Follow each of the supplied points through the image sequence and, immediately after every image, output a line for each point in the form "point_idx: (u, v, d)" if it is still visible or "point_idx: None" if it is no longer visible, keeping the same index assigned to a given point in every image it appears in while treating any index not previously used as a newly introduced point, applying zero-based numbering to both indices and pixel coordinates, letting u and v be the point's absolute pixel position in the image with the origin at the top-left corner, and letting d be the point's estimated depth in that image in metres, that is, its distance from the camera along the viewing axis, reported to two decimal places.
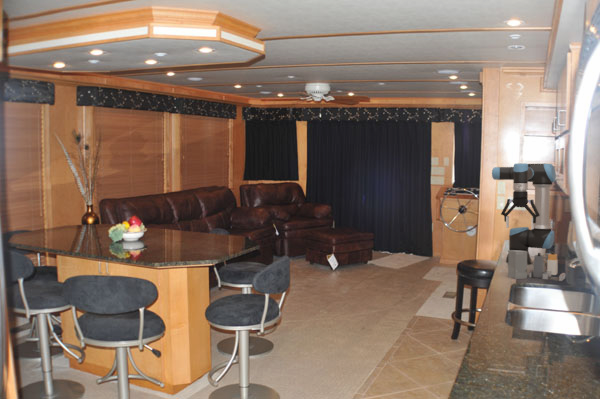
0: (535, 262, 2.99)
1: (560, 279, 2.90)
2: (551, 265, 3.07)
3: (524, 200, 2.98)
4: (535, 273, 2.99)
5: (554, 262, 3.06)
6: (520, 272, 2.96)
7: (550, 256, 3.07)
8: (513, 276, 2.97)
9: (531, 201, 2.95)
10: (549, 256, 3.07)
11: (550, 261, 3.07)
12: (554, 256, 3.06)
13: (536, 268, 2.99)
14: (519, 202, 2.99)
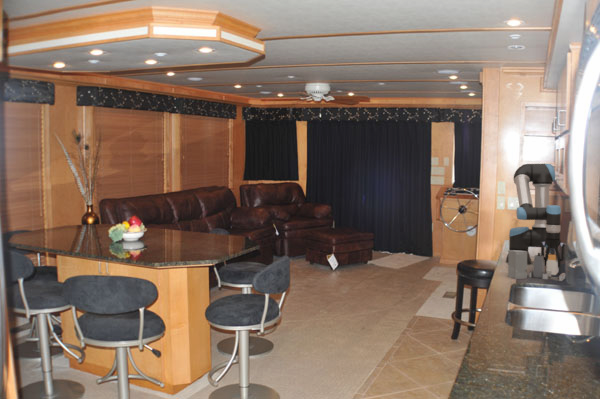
0: (535, 262, 2.99)
1: (560, 279, 2.90)
2: (551, 265, 3.07)
3: (557, 241, 3.05)
4: (535, 273, 2.99)
5: (554, 262, 3.06)
6: (520, 272, 2.96)
7: (550, 256, 3.07)
8: (513, 276, 2.97)
9: (563, 245, 3.03)
10: (549, 256, 3.07)
11: (550, 261, 3.07)
12: (554, 256, 3.06)
13: (536, 268, 2.99)
14: (552, 242, 3.07)
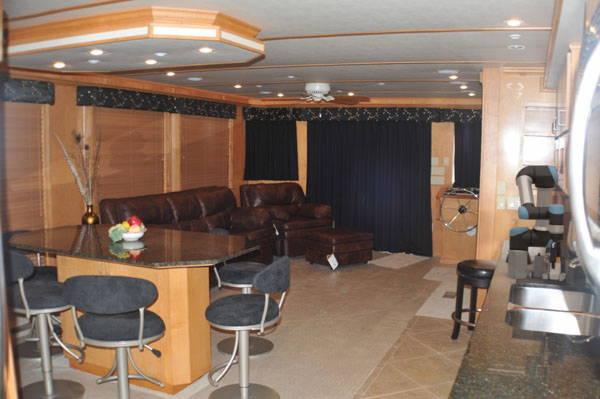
0: (535, 262, 2.99)
1: (560, 279, 2.90)
2: None
3: None
4: (535, 273, 2.99)
5: None
6: (520, 272, 2.96)
7: None
8: (513, 276, 2.97)
9: None
10: None
11: None
12: None
13: (536, 268, 2.99)
14: None
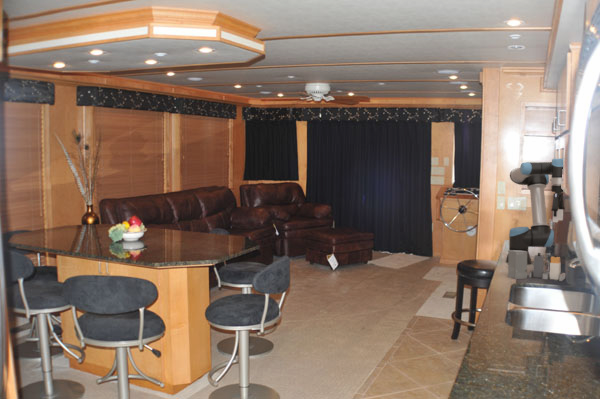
0: (535, 262, 2.99)
1: (560, 279, 2.90)
2: None
3: None
4: (535, 273, 2.99)
5: None
6: (520, 272, 2.96)
7: None
8: (513, 276, 2.97)
9: None
10: None
11: None
12: None
13: (536, 268, 2.99)
14: None
